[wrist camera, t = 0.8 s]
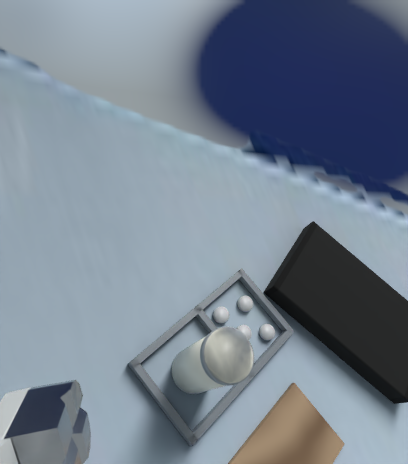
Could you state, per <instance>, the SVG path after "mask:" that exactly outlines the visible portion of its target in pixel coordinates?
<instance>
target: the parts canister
mask: <svg viewBox="0 0 408 464" xmlns="http://www.w3.org/2000/svg"><path fill="white" fill-rule="evenodd" d="M253 365H254V352H253V348H252V345H251V343H250V341H249V340H248V338H247V337H246V336H245V335H244V334H243V333H242V332H241V331H239V330H237V329H235V328H233V327H220V328H217V329H215V330H214V331H212V332H210V333H209V334H208V335H207V336H206V337H204V338H202V339H201V340H199V341H197V342H196V343H194V344H192V345H191V346H189V347H187V348H186V349H184V350H182V351H181V352H180V353H178V355H177V356H176V357H175V359H174V361H173V364H172V377H173V380H174V382H175V384H176V385H177V387H178V388H179V389H180V390H182V391H183V392H185V393H188V394H198V393H202V392H205V391H209V390H212V389H216V388H219V387H223V386H226V385H227V386H229V385H234V384H238V383H240V382H242V381H244V380H245V379H246V378H247V377H248V376H249V375H250V373H251V371H252V369H253Z"/></svg>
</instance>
